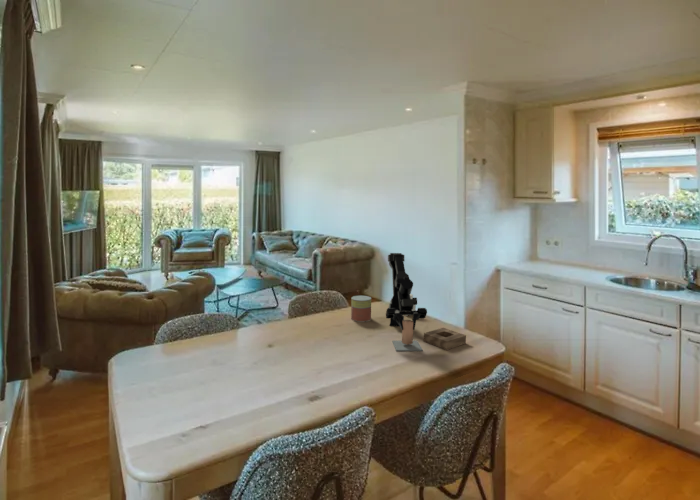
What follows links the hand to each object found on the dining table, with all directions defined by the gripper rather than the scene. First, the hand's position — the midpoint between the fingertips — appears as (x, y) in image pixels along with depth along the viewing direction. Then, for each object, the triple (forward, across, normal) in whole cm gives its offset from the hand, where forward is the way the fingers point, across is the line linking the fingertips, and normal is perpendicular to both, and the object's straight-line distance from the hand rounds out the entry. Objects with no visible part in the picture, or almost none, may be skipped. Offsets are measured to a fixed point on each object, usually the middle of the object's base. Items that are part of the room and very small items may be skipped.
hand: (408, 329), depth 194 cm
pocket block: (+2, +19, +10) cm, 22 cm away
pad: (+5, 0, +7) cm, 9 cm away
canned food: (-25, -18, +38) cm, 49 cm away
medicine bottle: (-31, +10, +44) cm, 55 cm away
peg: (+4, 0, +6) cm, 7 cm away
